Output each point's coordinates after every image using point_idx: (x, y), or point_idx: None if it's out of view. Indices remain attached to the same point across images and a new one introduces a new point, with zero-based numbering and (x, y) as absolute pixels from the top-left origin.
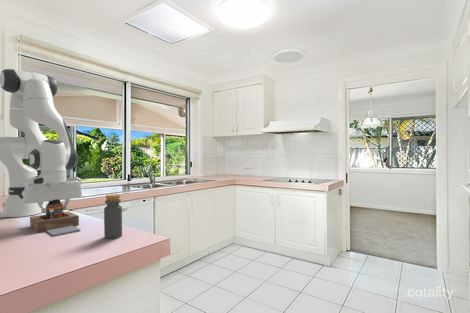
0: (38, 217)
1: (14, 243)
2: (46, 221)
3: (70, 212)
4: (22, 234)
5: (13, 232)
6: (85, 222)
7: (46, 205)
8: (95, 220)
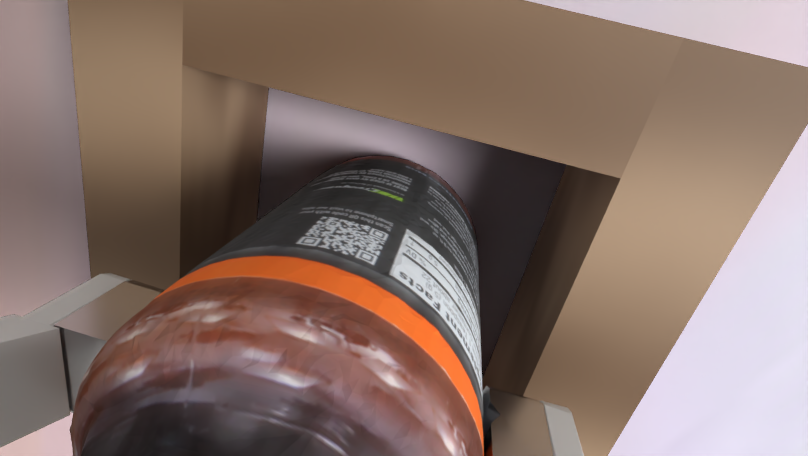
0: (161, 147)
1: (30, 439)
2: None
3: (708, 269)
4: (82, 273)
5: (19, 106)
6: (655, 420)
7: (74, 409)
8: (785, 449)
